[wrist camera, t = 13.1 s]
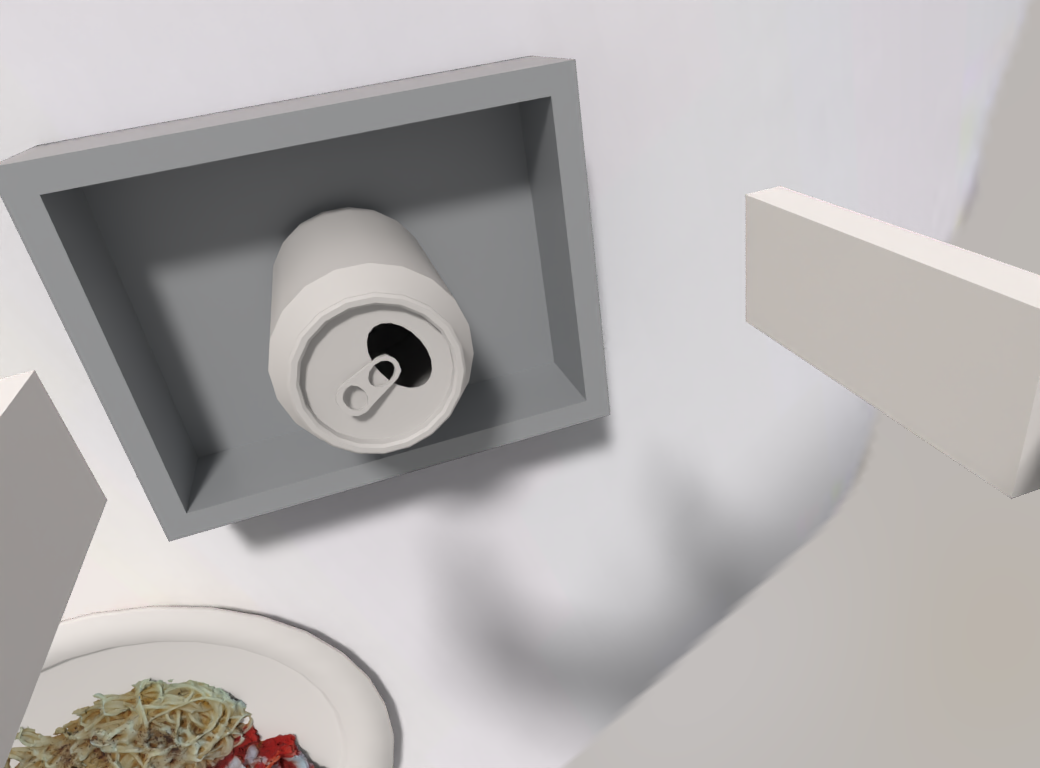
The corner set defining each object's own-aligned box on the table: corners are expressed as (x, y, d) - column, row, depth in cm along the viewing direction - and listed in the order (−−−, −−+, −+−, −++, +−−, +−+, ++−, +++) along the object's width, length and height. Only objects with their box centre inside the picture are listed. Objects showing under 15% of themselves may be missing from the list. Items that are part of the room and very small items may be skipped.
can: (456, 289, 37) (522, 387, 27) (342, 377, 37) (365, 508, 27) (362, 170, 33) (397, 230, 23) (236, 268, 34) (215, 372, 23)
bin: (531, 55, 34) (575, 59, 29) (570, 368, 42) (610, 414, 37) (37, 145, 30) (-14, 167, 25) (184, 473, 38) (168, 541, 33)
